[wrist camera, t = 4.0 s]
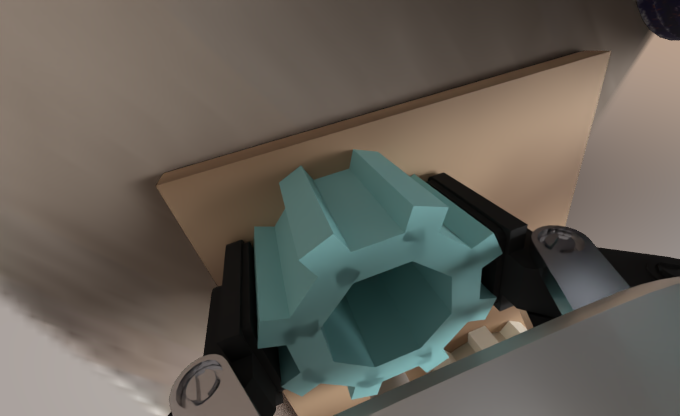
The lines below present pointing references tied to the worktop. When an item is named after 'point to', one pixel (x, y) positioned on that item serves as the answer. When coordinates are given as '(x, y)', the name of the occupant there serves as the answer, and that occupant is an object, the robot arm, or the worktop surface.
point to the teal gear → (366, 276)
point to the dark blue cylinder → (661, 17)
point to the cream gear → (482, 341)
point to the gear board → (412, 170)
